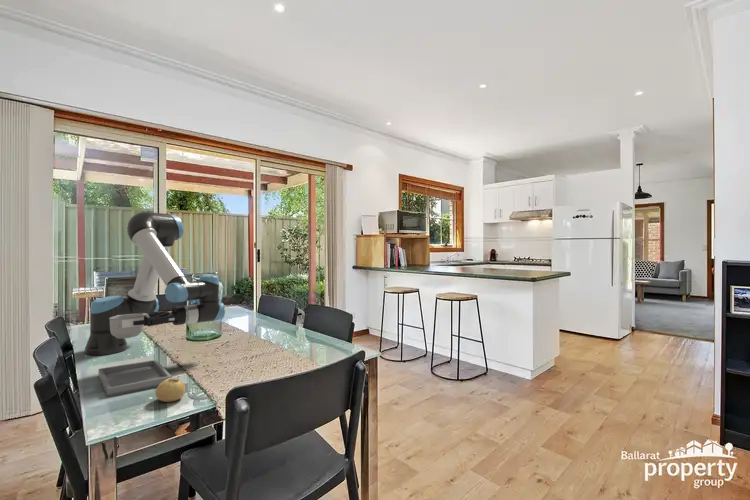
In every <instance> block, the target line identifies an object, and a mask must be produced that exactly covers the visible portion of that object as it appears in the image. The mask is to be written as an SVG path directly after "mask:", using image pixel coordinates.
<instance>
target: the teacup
mask: <svg viewBox="0 0 750 500" xmlns="http://www.w3.org/2000/svg"><path fill="white" fill-rule="evenodd" d="M144 316H146V317H147V318H150V317H149V315H148V314H146V313H143V314H126V315H119V316H113V317H110V318H109V320H110V332H111V334H112V335H113V336H115V337H116V338H120V339H121V338H125V339H129V338H134V337H138V336H139V335H140V334H141V333H142V332H143V330H144V327H145V326H144V324H143V326H136V327H127V328H122V320H128V319H138V318H143V320H144Z"/></svg>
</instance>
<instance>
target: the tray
mask: <svg viewBox="0 0 750 500" xmlns="http://www.w3.org/2000/svg"><path fill="white" fill-rule="evenodd" d="M97 372H98V375H97V376H98V378H99V381H100V383H101V385H102V388H103V389H104V392H106V393H105V395H106V397H107V398H110V397H114V396H119V395H123V394H128V393H133V392H138V391H142V390H149V389H153V388H157V387H158V386H159V385H160V384H161V383H162V382H163V381H164V380H166V379H168V378H173V376H172V374H171V373H169V372H168V370H167V369H165V367H164V366H163V365H162V364H161V363H160V362H159V361H158V360H157V359H151V360H145V361H140V362H139V361H138V362H132V363H127V364H121V365H115V366H114V365H113V366H109V367H101V368H98V370H97Z"/></svg>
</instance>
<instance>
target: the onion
mask: <svg viewBox="0 0 750 500" xmlns="http://www.w3.org/2000/svg"><path fill="white" fill-rule="evenodd" d="M179 377H180V376H177V377H172V378H168V379H166V380H164V381H163V382H162V383H161V384H160V385H159V386H158V387H156V389H155V396H156V398H157V400H159V402H163V403H171V402H176V401H178V400H180V399H181V398H182V397H183V396H184V395H185V392H186V385H185V382H184V381H182V380H181V379H179Z"/></svg>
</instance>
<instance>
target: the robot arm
mask: <svg viewBox="0 0 750 500" xmlns="http://www.w3.org/2000/svg"><path fill="white" fill-rule="evenodd" d="M184 230H185V227H184V224H183V221H182V220H181V218H180V217H179V216H177V215H175V214H170V213H164V212H163V213H162V212H161V213H160V212H151V211H141V212H140V211H139V212H138V213H135V214H134V215H133V216H132V217H131V218H129V220H128V222H127V226H126V232H127V236H128V237H129V239H130V241H131V243H132V244H133V245H134V246H138V248H139V249H140V250H141V252H142V254H143V255H142V256H143V257H142V260H141V263H140V267H139V269H138V273H137V276H136V278H135V281H134V286H133V288H132V289H130V290H128V291H127V295H126V297H123V296H122V295H110V296H104V297H99V298H97V299H96V298H95V299H94V300H93V301H92V302H91V303H90V309H89V313H90V317H89V318H90V320H89V321H90V325H89V326H90V327H89V329H90V331H89V336H88V339H87V342H86V344H85V347H84V354H85V355H88V356H102V355H112V354H117V353H120V352H124V351H126V350H127V349H128V342H127V338H121V339H120V338H116V337H115V336H113V335H112V334H111V332H110V320H109V318H110V317H113V316H119V315H126V314H143V313H146V314H148V315H149V317H150V318H147V317H146V316H144V320H143V318H138V319H128V320H122V328H127V327H136V326H143V324H144V327H153V326H158V325H163V324H171V323H172V324H173V325H174V326H182V325H184V324H185V325H188V324H189V325H191V326H192V325H194V324H195V323H196V324H198V323H206V322H208V323H209V322H215V321H221V320H223V319H224V317H225V315H226V314H225V313H226V308H225V307H226V306H225V304H224V303H223V302H220V300H219V299H220V296H219V295H220V294H219V293H220V291H219V290H220V279H219V277H218V275H215V274H213V275H212V274H207V275H205V274H204V275H201V276H199V280H195V281H189V279H188V278H187V277H186V276H185V275H184V273H183V272H182V270H181V268H180V267H179V265H178V264H177V263H176V262H175V260H174V259H173V258H172V256H171V255H170V254H169V251H168V250H169V249H170V248H171V247H173V246H174V244H175V241H178V240H180V239H181V238H182V237H183V235H184V232H185V231H184ZM159 279H161V280H162V281H163V283H164V285H165V286H166V287H165V288H164V294H165V299H166V300H167V301H168V302H169V303H183V302H189V301H197V300H199V301H198V302H199V304H188V305H179V306H178V305H176V306H173V307H172V308H171V312H170V311H168V310H161V311H159V308H160V305H159V300H158V298H157V295H156V294H155V291H156V288H157V286H158V285H157V284H158V282H159Z"/></svg>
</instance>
